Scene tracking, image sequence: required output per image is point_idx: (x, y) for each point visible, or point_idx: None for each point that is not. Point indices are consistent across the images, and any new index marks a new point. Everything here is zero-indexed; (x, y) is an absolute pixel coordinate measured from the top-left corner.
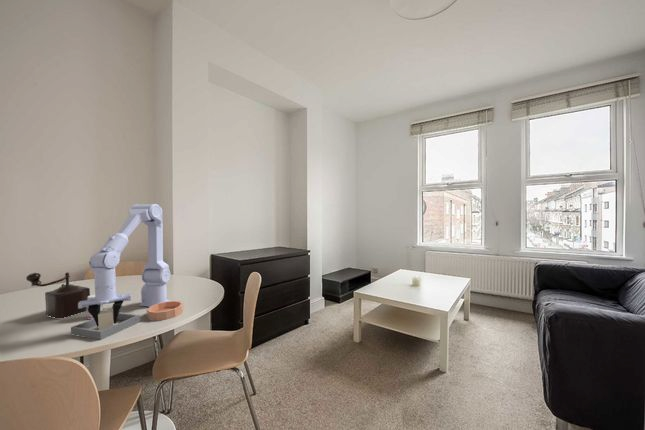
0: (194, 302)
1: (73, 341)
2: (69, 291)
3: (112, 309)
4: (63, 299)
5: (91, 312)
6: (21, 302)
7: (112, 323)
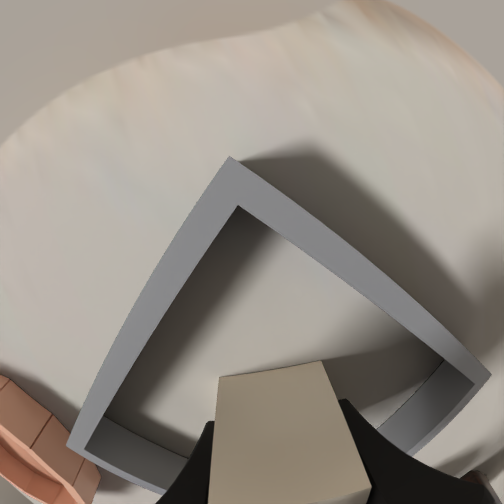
0: None
1: (441, 229)
2: None
3: None
4: None
5: (448, 488)
6: None
7: (222, 411)
